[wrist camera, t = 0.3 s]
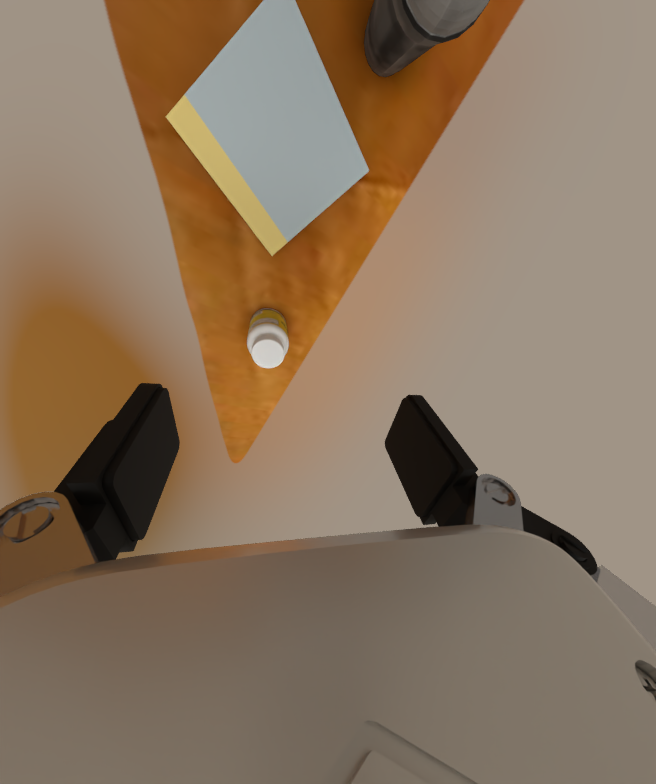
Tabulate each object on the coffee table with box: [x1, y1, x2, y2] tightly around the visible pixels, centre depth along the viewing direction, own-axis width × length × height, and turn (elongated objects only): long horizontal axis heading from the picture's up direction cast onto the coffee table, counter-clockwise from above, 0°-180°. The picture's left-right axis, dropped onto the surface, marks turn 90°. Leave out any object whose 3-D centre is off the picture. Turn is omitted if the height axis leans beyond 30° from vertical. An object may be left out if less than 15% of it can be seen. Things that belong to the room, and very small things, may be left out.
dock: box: [166, 0, 369, 256], centre depth 27 cm, size 14×14×3 cm
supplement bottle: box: [247, 308, 289, 368], centre depth 35 cm, size 5×5×10 cm
